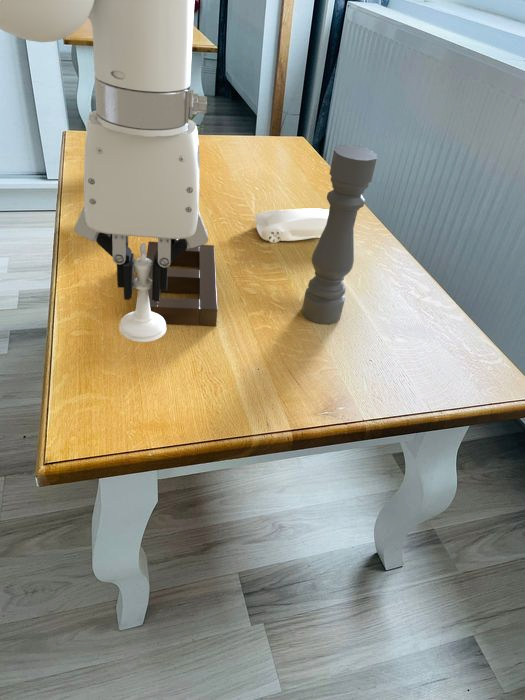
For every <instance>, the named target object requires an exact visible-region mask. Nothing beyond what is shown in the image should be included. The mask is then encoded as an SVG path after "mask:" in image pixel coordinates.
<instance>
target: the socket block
mask: <svg viewBox="0 0 525 700" xmlns="http://www.w3.org/2000/svg"><path fill="white" fill-rule="evenodd" d="M157 250H158V241H148V243H147V248H146V258H148V259H150V260H152V261H154V255H156V251H157ZM215 255H216V254H215V245H214V244H212V245H211V244H204V245H201V246H197V247H194V248H191V249H190V248H189V249H186V250H185V251H184V252H183V253H182V254H180V255H179V256H178V257H177V258H175V259H174V260H173V261H171V263H170V265H169V266H168V279H167V290H160V294H162V293H165V294H184V295H198V298H179V297H178V298H177V297H160V299H159V302H155V301H154V300H152V288H151V289H148V294H149V302H150V309H151V312H155V313H157V314H159V315H160V316H162V317H163V318H164V320H165V322H166V325H168V326H169V325H172V326H174V325H175V326H196V327H197V326H199V327H217V323H218V294H217V293H218V292H217V276H216V274H217V271H216V257H215ZM170 267H171V268H170ZM172 267H173V268H172ZM174 267H185V268H174ZM186 267H187V268H186ZM189 267H190V268H198V269H190V268H189ZM152 271H153V268H152V270H151V272H150V276H149V278H150V279H151V280H152Z"/></svg>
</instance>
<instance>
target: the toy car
mask: <svg viewBox="0 0 525 700" xmlns="http://www.w3.org/2000/svg"><path fill="white" fill-rule="evenodd" d="M328 214H329V209H326V208H320V207H319V208H318V207H309V208H295V209H294V208H293V209H273V210H264V211H259V212H258V213H256V214H255V215H254V222H255V228H256V231H257V233H258V236H259V237H261V239H262V240H265V241H266V242H269V243H272V244H277V243H278V242H280V241H281V242H282V241H283V242H294V241H301V240H303V241H304V240H310V239H315V238H318V239H320V237H321V235H322V233H323V231H324V228H325V226H326V224H327V219H328Z"/></svg>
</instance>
